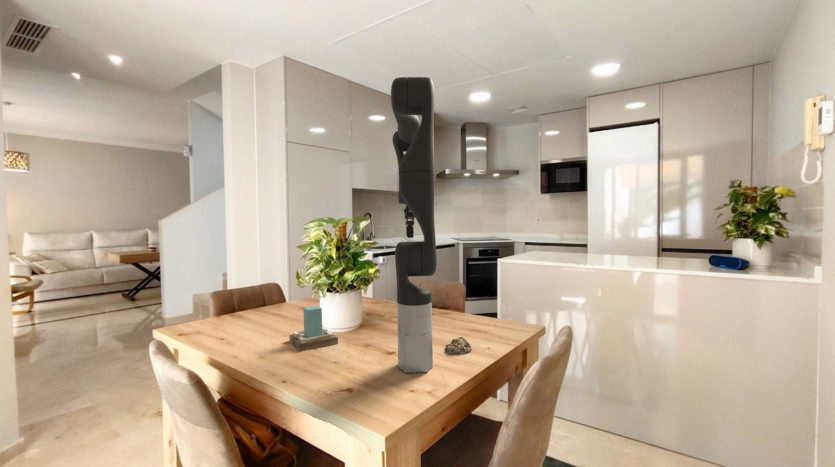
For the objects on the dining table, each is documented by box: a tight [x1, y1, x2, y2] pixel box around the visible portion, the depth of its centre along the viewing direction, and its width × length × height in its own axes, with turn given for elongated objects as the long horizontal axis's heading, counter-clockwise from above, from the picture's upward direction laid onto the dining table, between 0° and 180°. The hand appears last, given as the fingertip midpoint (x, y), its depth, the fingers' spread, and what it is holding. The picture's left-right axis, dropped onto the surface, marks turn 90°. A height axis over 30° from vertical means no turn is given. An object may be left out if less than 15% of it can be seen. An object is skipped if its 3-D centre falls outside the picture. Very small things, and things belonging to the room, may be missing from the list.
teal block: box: [302, 305, 323, 338], centre depth 122 cm, size 4×4×9 cm
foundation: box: [289, 326, 339, 352], centre depth 122 cm, size 12×12×3 cm
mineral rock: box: [445, 336, 473, 356], centre depth 114 cm, size 11×4×8 cm
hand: (409, 237), depth 130 cm, fingers open, 8 cm apart
